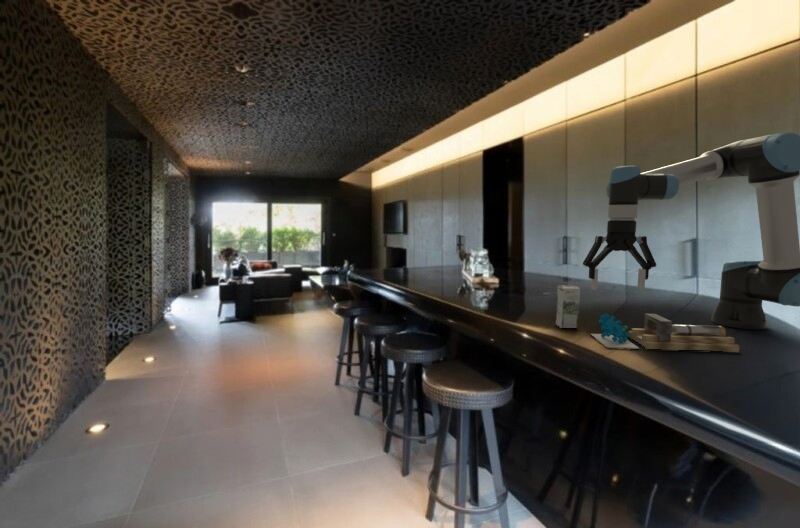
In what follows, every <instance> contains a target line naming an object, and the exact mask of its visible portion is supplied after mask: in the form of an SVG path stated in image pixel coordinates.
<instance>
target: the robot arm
mask: <svg viewBox="0 0 800 528" xmlns="http://www.w3.org/2000/svg"><path fill="white" fill-rule="evenodd" d="M734 177H747V180H748V184H749V185H751V186H752V187H753V188H755V193H756V202H757V203H756V204H757V211H758V218H759V219H758V220H759V222H758V223H759V230H760V239H761V249H762V257H763V259H762V260H743V261H742V260H738V261H737V260H736V261H735V260H733V261H732V260H731V261H725V263H724V264H723V267H722V271H721V279H720V280H721V281H720V291H719V292H720V293H719V301H718V303H717V304H716V307H715V309H714V310H713V312H712V314H711V322H713V323H714V324H717V325H719V326H723V327H729V328H736V329H743V330H753V331H755V330H757V331H759V330H765V329H767V319H766V316H765V312H764V309H763V301H765V302H770V303H774V304H779V305H782V306H789V307H790V306H791V307H800V235H799V228H798V227H799V225H798V214H797V206H796V196H795V194H796V193H795V185H794V182H795V180H796V179H798V178H799V177H800V135H799V134H797V133H794V132H781V133H778V132H777V133H772V134H767V135H763V136H762V135H761V136H759V137H753V138H748V139H742V140H738V141H735V142H731V143H729V144H727V145H724V146H720V147H718V148H714V149H712V150H709V151H706V152H704V153H703V152H702V154H701V155H700V156H698V157H695V158H691V159H688V160H684V161H681V162H677V163H673V164H669V165H666V166H662V167H657V168H656V169H652V170H649V171H645V172H641V167H640V166H638V165H621V166H616V167H614V168H613V169H611V173H610V177H609V178H610V179H609V183H607V184H608V185H607V186H606V195H607V197H608V212H607V218H608V221H607V225H606V226H607V227H606V235H605V236H603V235H595V238H594V243H593V244H592V247H591V248H590V250H589V252H588V253H587V255H586V257H585V259H584V260H583V261H582V265H583V266H585V267H587V268H588V279H590V280H591V282H590V289H591V290H593V291H598V280H599V279H598V278H599V268H597V267H598V266H599V265H600V264H601V262H603V261H604V260H605V258H606V257H607V256H608V255H609V254H610V253H612V252H613V251H615V252H620V251H623V252H628V253H630V255H631V256H632V257H633V258H634V259H635V261H636V262H637V263H638V265H640V267H641V268H640V267H639V268H638V272H637V273H638V275H637V287H636V289H637V291H640V292H645V289H646V288H645V287H646V280H648V279H649V275H650V273H649V271H650V270H651V269H652V268H656V267H657V263H656V261H655V258H654V256H653V254H652V252H651V251H652V250H650V247H649V245H648V237H647V236H645V235H639V236H636V231H637V221H636V220H635V219H637V217H638V208H639V207H638V205H639V201H651V200H652V201H653V200H654V201H655V200H656V201H657V200H659V201H663V200H671V199H673V198H674V197H675V196H677V194H678V193H679V190H680V187H681V186H684V185H688V184H692V183H695V182H698V181H702V180H707V181H713V180H717V179H723V178H734ZM603 243H606V245H605V246H604V248H603V249H602V250H601V251H600V252H599V250H600V248H601V246H602V245H603ZM635 243H637V244H638V245H639V248H640V250H641V253H642V254H643V256H642V255H641V253H639V251H638V250H637V248H636V246H634V244H635ZM598 252H599V253H598ZM595 256H596V257H595Z"/></svg>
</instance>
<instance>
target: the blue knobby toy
mask: <svg viewBox="0 0 800 528" xmlns="http://www.w3.org/2000/svg"><path fill="white" fill-rule="evenodd" d="M615 319H616V317H615V316H614V315H613V314H612V315H610V314H608V313H605V314H601V315H600V316H599V321H598V324H600V330H601V331H604V332H603V333H601V334H602V335H601V336H602V337H605V336H607V337H609V336H610V335H613V336H614V337H613V338H612V340H613V341H614V342H616V341H617V340H618V339H617V337H618V338H619V340H618V342H619V343H623V342H625V341H627V340H628V341H629V339H628V335H629V334H628V331H627V329H628V328H629V326H628V325H626V324H625V325H621V324H622V321H621V320H620V319H618V320H615Z"/></svg>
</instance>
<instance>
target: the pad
mask: <svg viewBox="0 0 800 528" xmlns="http://www.w3.org/2000/svg"><path fill="white" fill-rule="evenodd" d="M590 334H591V335H592V336H594V337H595V338H596V339H597V340H599V341H600V342H601V343H602V344H603V345H605V346H606V347H608V348H627V349H626V350H630V349H639V350H640V347H639V346H637V345H636V344H635V343H632V342H631V341H630V340H629V339H628V340H627V341H625V342H623V343H619V342H618V340H619V338H618V337H617V339H618V340H617V341H616V342H614V341H613V340H612V338H613V337H614V336H613V335H610V336H609V337H607V336H605V337H602V336H601V335H602V334H603V333H590ZM602 344H601V345H602ZM603 345H602V346H603Z"/></svg>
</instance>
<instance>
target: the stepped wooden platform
mask: <svg viewBox="0 0 800 528" xmlns="http://www.w3.org/2000/svg"><path fill="white" fill-rule="evenodd" d="M643 322H644V324H643V328H640V327H639V328H635V327H632V328H631V329H630V330H628V331H627V333H628V334H629V335H628V336H627V338H628V337H630V338H631V339H630V338H629V339H630V340H632V339H633V340H635V341H636V342H638V343H639V344H641V345H642V346H641V345H640V346H641V347H643V346H644V347H645V348H644V347H643V348H644V349H645V350H647V349H661V350H660V351H678V350H714V351H723V352H722V353H740V347H741V346H740V345H739V344H738V343H737V344H736V343H735V342H736V341H735V340H736V337H732V336H725V337H717V336H682V335H671V329H672V325H673V321H672V320H669V319H667V318H666V317H663V316H661V315H659V314H656V313H644V321H643ZM633 340H632V341H633ZM635 341H634V342H635ZM636 342H635V343H636ZM638 343H637V344H638ZM639 344H638V345H639Z"/></svg>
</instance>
